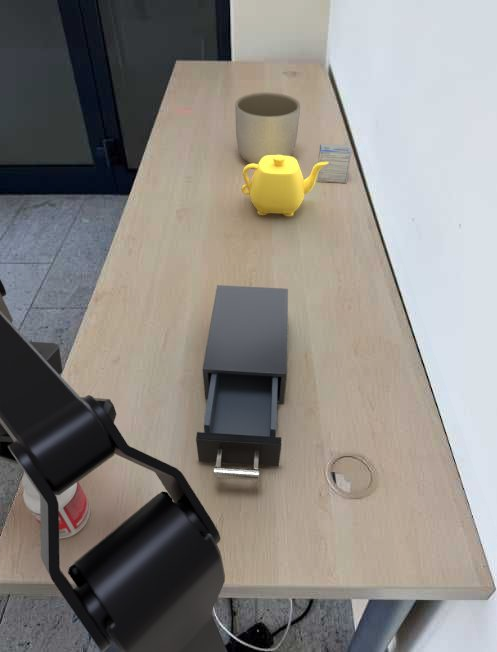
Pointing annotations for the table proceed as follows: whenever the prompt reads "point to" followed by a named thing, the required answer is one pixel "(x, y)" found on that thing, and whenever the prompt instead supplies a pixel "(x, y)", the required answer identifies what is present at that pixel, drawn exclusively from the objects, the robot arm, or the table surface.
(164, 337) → the table surface
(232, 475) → the drawer
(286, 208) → the teapot
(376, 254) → the table surface
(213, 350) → the cabinet
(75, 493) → the pill bottle
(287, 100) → the planter
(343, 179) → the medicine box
